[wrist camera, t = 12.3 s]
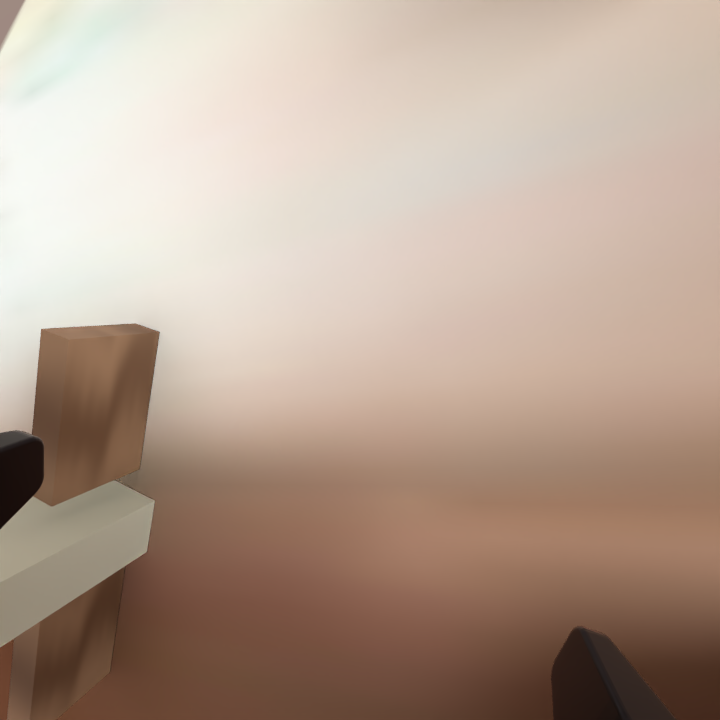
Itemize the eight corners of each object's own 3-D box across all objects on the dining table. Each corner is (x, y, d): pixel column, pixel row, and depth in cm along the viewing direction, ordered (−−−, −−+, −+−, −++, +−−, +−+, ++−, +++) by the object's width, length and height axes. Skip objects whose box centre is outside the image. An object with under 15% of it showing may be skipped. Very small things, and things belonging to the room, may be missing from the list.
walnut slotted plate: (135, 323, 22) (41, 328, 18) (159, 332, 21) (68, 339, 17) (90, 659, 26) (6, 727, 22) (109, 672, 26) (27, 744, 21)
